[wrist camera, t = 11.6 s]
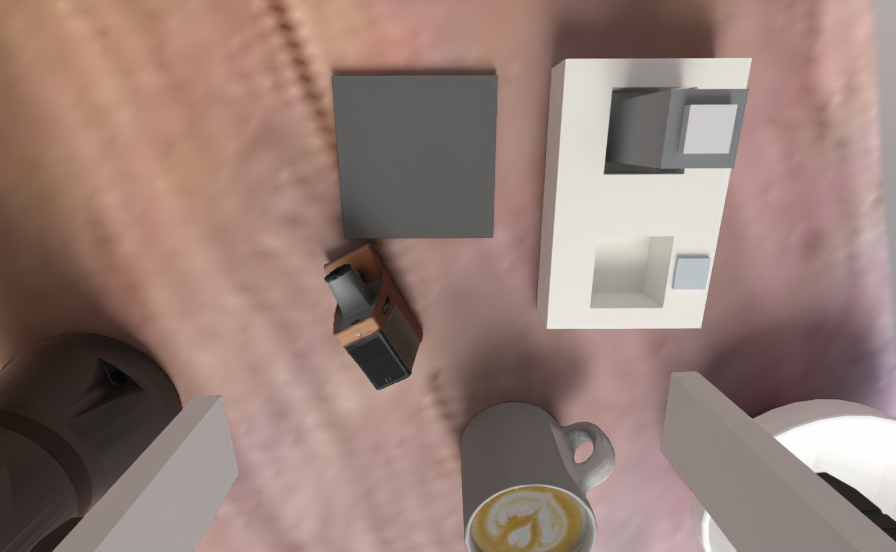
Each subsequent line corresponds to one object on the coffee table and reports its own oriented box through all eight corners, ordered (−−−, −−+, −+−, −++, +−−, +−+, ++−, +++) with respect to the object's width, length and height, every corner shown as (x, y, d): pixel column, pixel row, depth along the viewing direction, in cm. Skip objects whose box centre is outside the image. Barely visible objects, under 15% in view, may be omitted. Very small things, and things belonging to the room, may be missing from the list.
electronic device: (371, 238, 35) (351, 265, 28) (426, 333, 38) (421, 379, 31) (325, 262, 36) (295, 294, 29) (383, 353, 39) (368, 403, 32)
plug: (598, 160, 33) (665, 169, 23) (604, 104, 32) (677, 87, 22) (650, 160, 33) (740, 168, 23) (658, 104, 32) (756, 87, 22)
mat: (346, 236, 35) (344, 238, 35) (333, 77, 32) (331, 75, 31) (492, 236, 35) (493, 237, 35) (496, 76, 32) (497, 75, 31)
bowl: (721, 341, 38) (781, 384, 32) (908, 399, 40) (1002, 451, 33) (628, 506, 44) (661, 574, 37) (796, 550, 46) (856, 622, 39)
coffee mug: (485, 500, 44) (495, 601, 34) (443, 425, 41) (442, 511, 31) (611, 454, 42) (659, 546, 32) (576, 372, 39) (618, 447, 30)
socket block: (536, 309, 37) (547, 330, 33) (551, 68, 32) (566, 57, 27) (674, 308, 37) (703, 329, 33) (714, 67, 32) (754, 57, 27)
